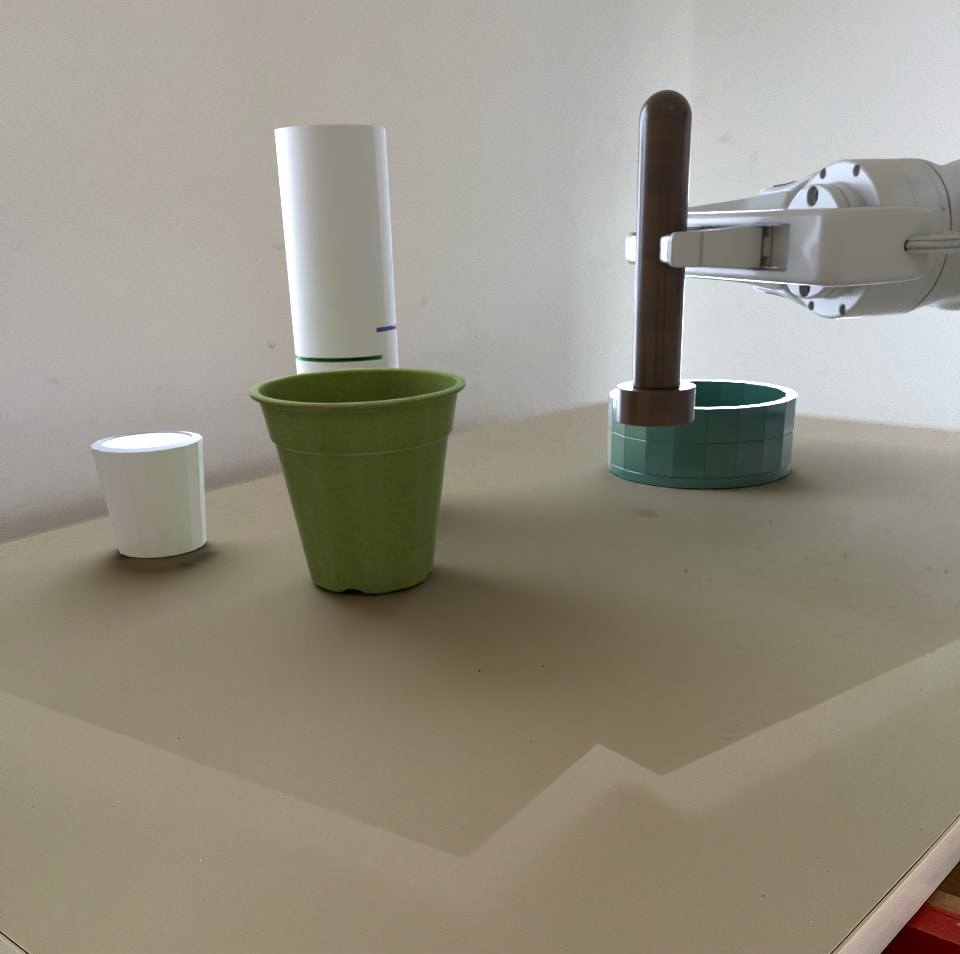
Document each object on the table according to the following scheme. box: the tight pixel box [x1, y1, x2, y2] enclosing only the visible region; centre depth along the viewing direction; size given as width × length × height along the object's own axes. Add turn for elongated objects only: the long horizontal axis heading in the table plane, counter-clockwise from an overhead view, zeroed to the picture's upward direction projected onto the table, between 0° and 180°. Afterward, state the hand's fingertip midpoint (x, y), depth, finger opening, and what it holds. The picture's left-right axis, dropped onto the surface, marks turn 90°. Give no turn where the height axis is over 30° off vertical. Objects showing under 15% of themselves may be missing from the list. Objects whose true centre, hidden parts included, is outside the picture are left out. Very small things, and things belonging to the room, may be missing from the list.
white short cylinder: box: [90, 430, 207, 559], centre depth 67 cm, size 7×7×7 cm
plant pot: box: [248, 367, 467, 595], centre depth 58 cm, size 12×12×11 cm
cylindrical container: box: [274, 123, 400, 374], centre depth 71 cm, size 7×7×25 cm
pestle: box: [616, 89, 696, 427], centre depth 58 cm, size 5×5×17 cm
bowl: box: [606, 379, 798, 490], centre depth 83 cm, size 15×15×6 cm
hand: (646, 249), depth 57 cm, fingers closed on pestle, 3 cm apart
